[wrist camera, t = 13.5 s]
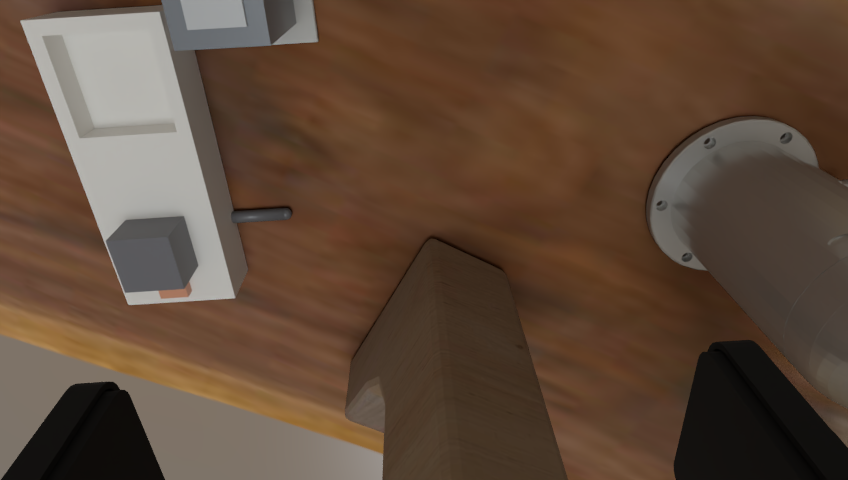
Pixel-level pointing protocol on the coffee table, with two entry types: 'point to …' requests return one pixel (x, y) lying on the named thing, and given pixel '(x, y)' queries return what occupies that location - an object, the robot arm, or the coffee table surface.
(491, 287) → the decorative block
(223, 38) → the block
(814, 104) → the coffee table surface
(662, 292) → the coffee table surface
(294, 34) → the felt pad
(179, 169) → the power strip
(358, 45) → the coffee table surface
